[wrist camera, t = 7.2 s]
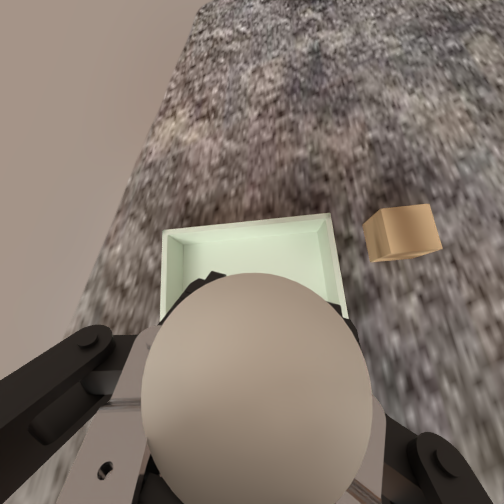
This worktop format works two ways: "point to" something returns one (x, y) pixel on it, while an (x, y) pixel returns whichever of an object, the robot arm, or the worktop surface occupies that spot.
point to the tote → (254, 255)
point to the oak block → (401, 233)
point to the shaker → (256, 395)
